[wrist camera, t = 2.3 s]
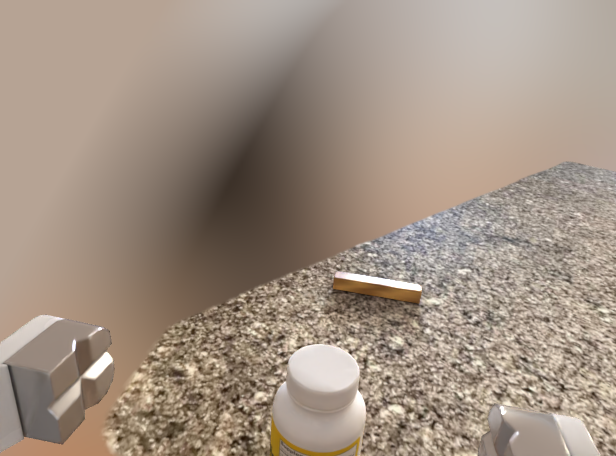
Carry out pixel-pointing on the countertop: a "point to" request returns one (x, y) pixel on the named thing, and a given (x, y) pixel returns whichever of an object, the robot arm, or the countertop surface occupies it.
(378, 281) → the wooden bar
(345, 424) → the supplement bottle
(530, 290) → the countertop surface
